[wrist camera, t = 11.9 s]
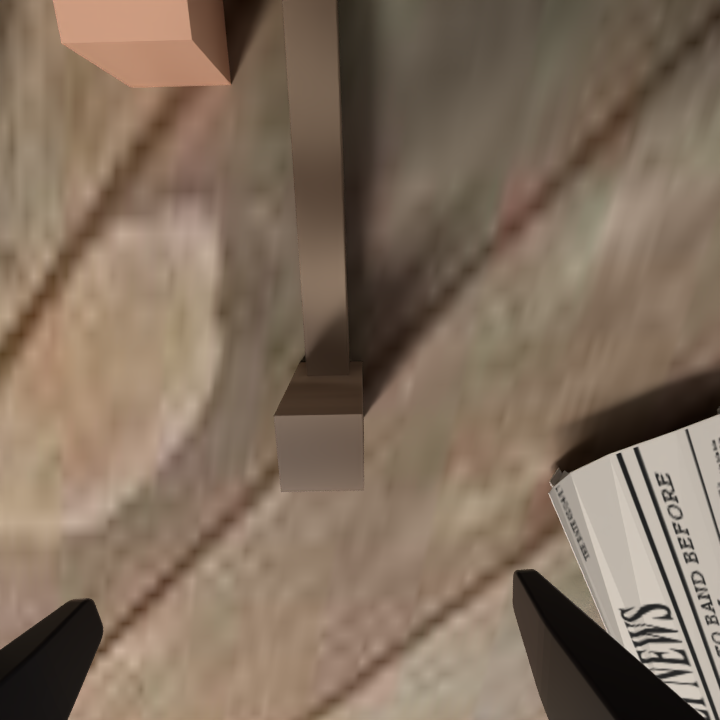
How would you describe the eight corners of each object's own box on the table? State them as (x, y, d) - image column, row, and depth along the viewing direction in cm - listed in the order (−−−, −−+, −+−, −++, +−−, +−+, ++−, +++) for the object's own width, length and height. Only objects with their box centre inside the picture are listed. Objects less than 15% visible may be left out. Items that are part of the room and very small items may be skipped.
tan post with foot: (363, 418, 20) (364, 490, 15) (216, 420, 20) (159, 493, 15) (351, -110, 14) (344, -339, 9) (142, -103, 14) (-2, -325, 9)
